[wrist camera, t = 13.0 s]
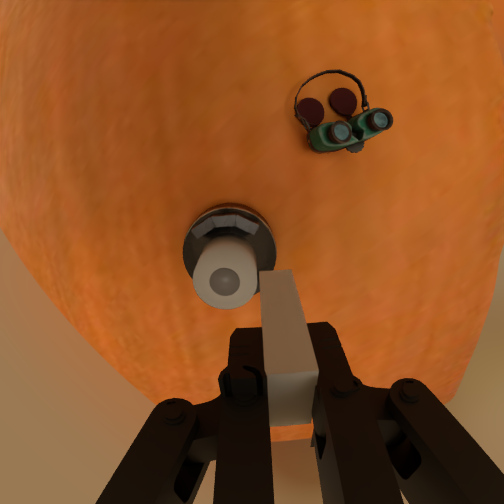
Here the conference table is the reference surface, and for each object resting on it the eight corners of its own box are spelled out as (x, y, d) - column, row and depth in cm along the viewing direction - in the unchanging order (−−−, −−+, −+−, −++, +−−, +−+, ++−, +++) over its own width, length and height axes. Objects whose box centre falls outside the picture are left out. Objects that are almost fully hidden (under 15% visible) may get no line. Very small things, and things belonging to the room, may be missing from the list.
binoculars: (369, 44, 21) (411, 137, 23) (342, 75, 31) (372, 145, 33) (285, 65, 22) (329, 164, 24) (278, 94, 32) (309, 167, 34)
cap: (198, 235, 34) (187, 254, 28) (254, 230, 33) (254, 249, 28) (205, 284, 36) (197, 311, 30) (257, 281, 36) (259, 308, 30)
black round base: (183, 206, 36) (172, 216, 31) (272, 198, 36) (275, 208, 31) (194, 285, 40) (187, 306, 35) (276, 280, 40) (279, 300, 35)
